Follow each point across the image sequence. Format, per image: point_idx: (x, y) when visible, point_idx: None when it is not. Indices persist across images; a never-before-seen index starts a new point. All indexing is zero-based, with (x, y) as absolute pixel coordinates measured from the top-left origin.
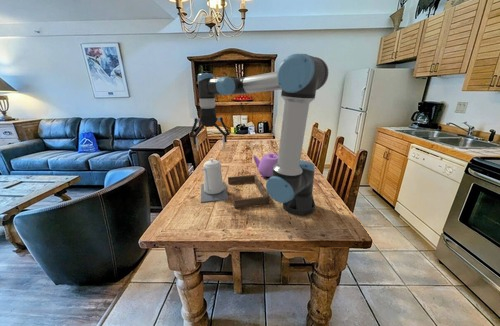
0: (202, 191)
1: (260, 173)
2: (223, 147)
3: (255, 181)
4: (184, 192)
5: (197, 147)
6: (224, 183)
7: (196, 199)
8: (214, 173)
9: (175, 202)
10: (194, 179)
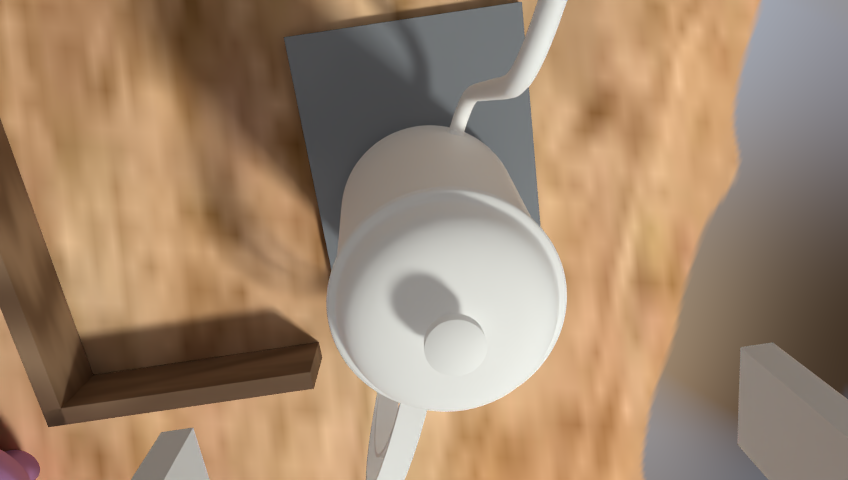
0: (526, 199)
1: (14, 469)
2: (177, 455)
3: (62, 339)
4: (674, 209)
5: (805, 387)
6: None
7: (563, 71)
8: (407, 176)
9: (732, 30)
10: (614, 444)
